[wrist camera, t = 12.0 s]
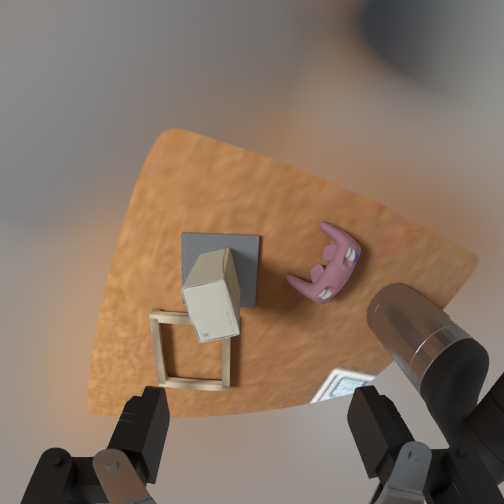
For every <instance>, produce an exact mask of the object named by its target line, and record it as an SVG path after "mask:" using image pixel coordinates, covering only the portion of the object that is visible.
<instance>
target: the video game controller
mask: <svg viewBox="0 0 504 504" xmlns="http://www.w3.org/2000/svg"><path fill="white" fill-rule="evenodd" d="M319 227H320V228H321V229H322V231H323V232H325V233H326V234H327V235H328V236H329V237H331V238H332V239H333V240H334V242H335V243H336V244H329V245H327V246H326V247H325V248H324V250H323V258H324V259H325V260H327V261H329V264H328V265H327V266H326V268H325V267H324V266H322V265H320V264H316V265H315V266H314V267H313V268H312V269H311V272H310V275H311V278H312V283H310V282H306V281H304V280H302V279H300V278H298V277H296V276H293V275H287V276H286V279H287V281H288V282H289V284H290V285H291V286H293V287H294V288H295V289H297V290H298V291H299V292H300V293H302V294H303V295H304V296H306V297H308V298H310V299H311V300H313V301H315V302H318V303H321V304H325V303H328V302H330V301H331V300H332V298H333V297H334V296H335V295H336V294H337V293H338V292H339V291H340V290H341V289H342V288H343V286H344V285H345V284H346V282H347V281H348V279H349V277H350V276H351V274H352V272H353V270H354V267H355V264H356V262H357V261H358V259H359V257H360V254H361V248H360V245H359V244H358V243H357V242H356V241H354V240H353V238H352V237H351V236H349V235H348V234H347V233H346V232H344V231H343V230H341V229H339V228H337V227H335V226H333V225H331V224H329V223H327V222H319Z"/></svg>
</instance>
